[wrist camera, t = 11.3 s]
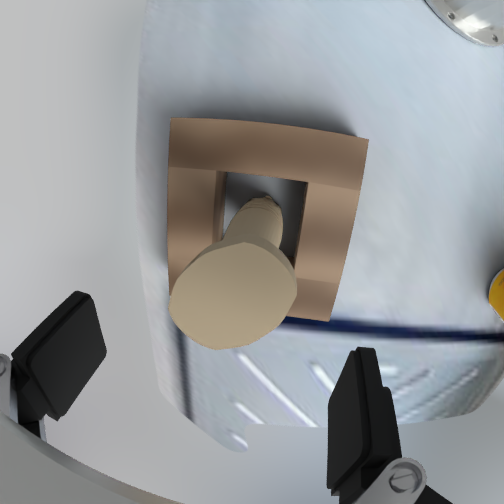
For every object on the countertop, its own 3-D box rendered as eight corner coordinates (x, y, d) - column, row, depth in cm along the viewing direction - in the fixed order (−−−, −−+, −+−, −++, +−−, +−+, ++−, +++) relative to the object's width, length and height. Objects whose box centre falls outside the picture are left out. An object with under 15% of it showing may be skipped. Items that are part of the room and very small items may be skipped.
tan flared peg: (220, 214, 28) (150, 303, 14) (271, 168, 25) (240, 219, 12) (256, 250, 29) (219, 362, 15) (307, 208, 26) (317, 300, 13)
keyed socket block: (188, 118, 24) (170, 117, 21) (358, 137, 23) (368, 139, 19) (183, 275, 31) (169, 295, 27) (326, 298, 30) (328, 321, 26)
